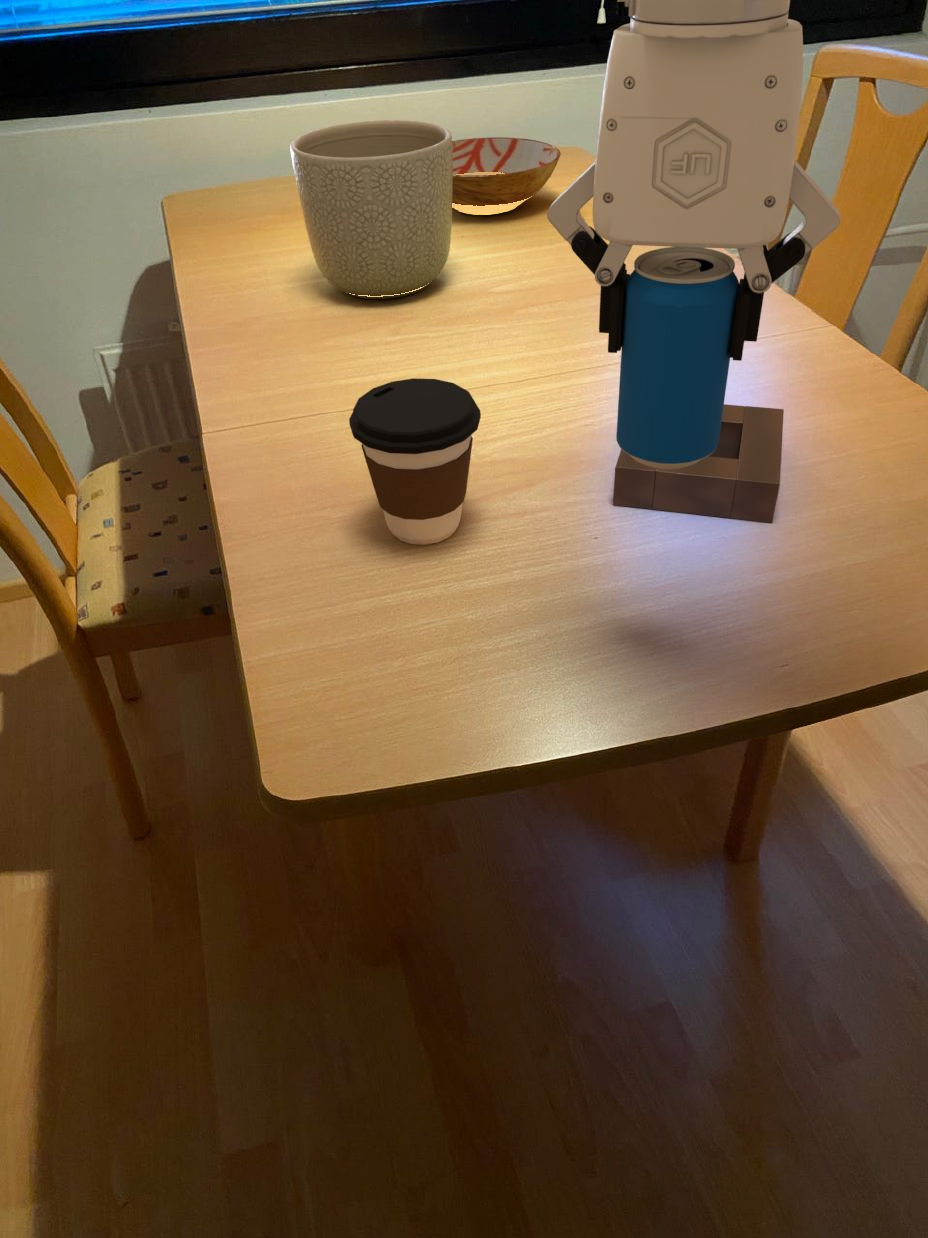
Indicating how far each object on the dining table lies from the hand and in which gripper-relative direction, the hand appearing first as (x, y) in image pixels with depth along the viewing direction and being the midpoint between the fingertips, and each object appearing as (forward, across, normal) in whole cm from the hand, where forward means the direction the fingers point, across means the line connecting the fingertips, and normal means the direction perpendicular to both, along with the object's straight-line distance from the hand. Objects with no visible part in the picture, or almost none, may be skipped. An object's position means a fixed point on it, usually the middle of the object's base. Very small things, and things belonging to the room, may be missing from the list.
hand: (676, 345), depth 56 cm
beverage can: (+7, 0, 0) cm, 7 cm away
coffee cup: (+23, -21, +11) cm, 33 cm away
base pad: (+23, +2, +25) cm, 34 cm away
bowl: (+23, -40, +107) cm, 117 cm away
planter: (+23, -45, +69) cm, 85 cm away
